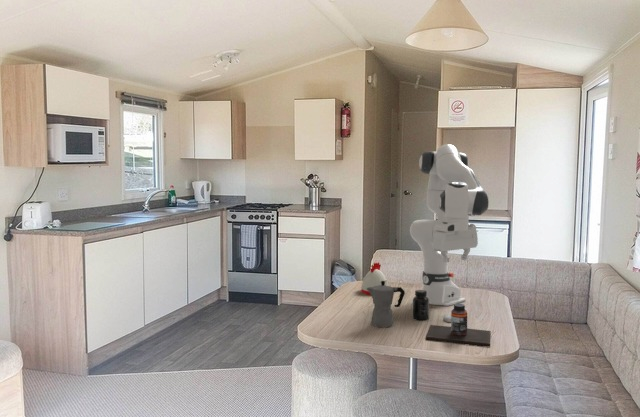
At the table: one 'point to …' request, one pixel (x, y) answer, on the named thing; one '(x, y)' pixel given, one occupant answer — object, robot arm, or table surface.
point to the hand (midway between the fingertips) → (455, 261)
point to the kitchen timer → (373, 278)
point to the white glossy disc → (447, 318)
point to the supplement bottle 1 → (420, 306)
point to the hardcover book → (446, 336)
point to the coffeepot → (384, 304)
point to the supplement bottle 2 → (459, 320)
